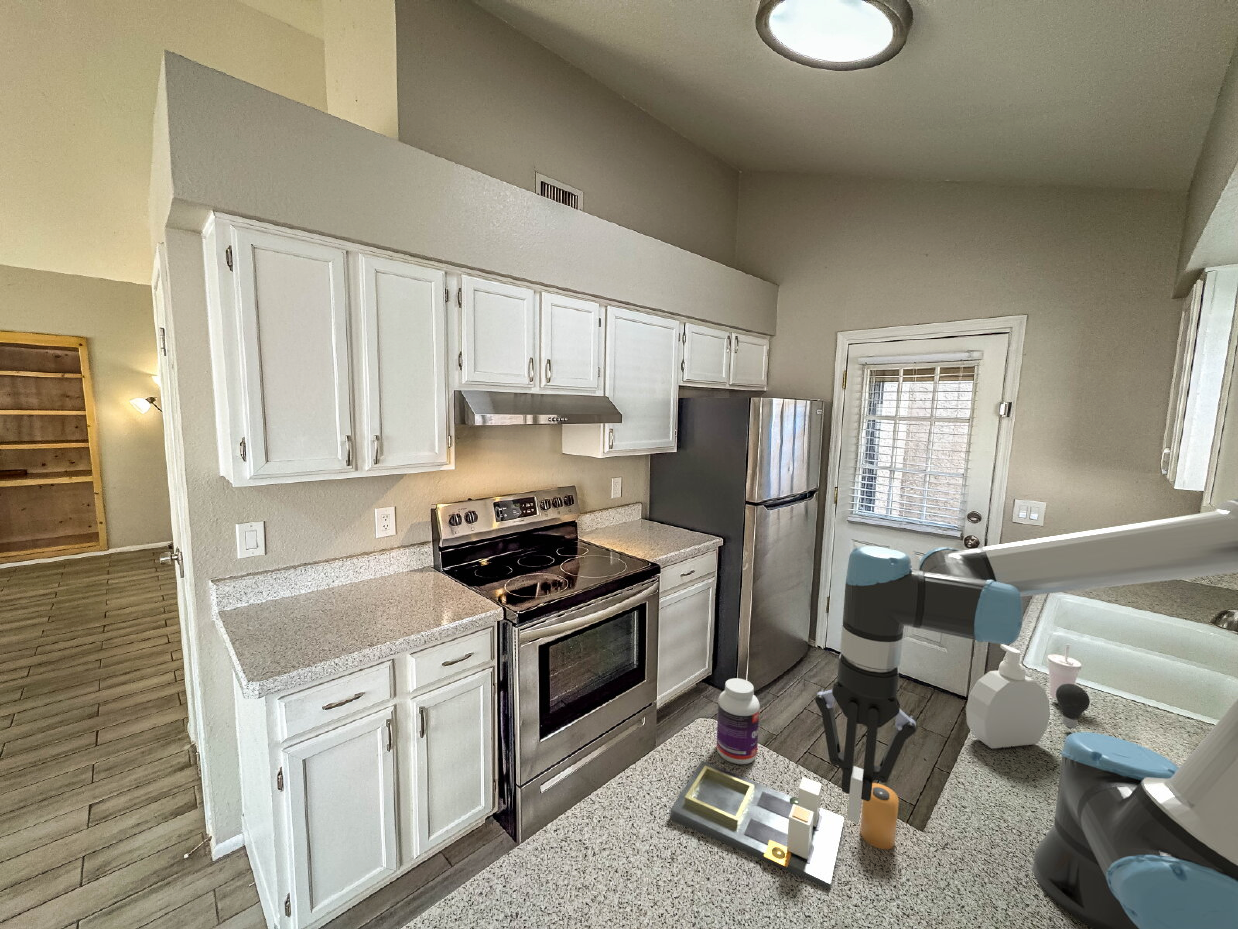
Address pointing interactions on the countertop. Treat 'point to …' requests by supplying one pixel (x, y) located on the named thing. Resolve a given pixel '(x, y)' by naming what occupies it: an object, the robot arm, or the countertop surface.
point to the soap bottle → (1008, 706)
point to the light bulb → (1072, 703)
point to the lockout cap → (880, 817)
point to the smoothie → (1062, 671)
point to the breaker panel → (756, 821)
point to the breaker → (810, 797)
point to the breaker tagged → (800, 831)
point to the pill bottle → (738, 722)
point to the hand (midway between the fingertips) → (853, 815)
